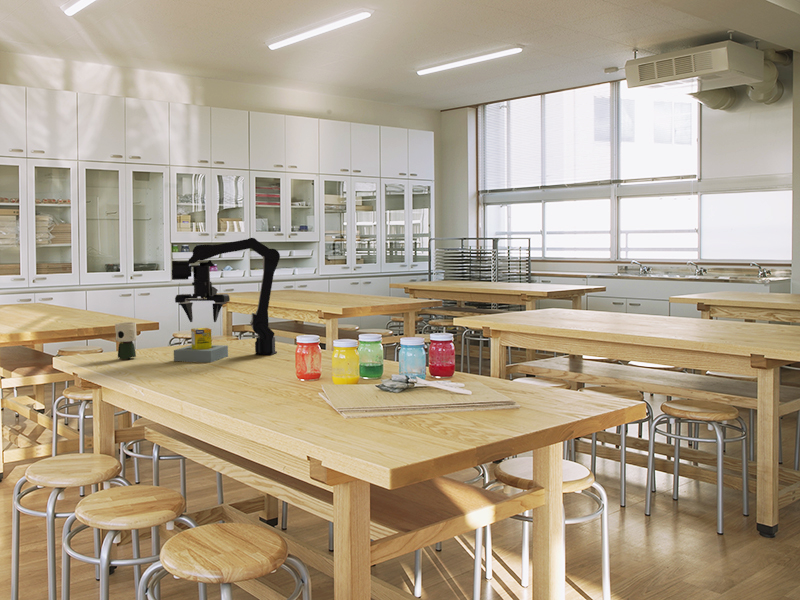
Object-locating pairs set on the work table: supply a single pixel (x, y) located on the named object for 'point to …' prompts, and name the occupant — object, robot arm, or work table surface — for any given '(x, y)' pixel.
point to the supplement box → (201, 338)
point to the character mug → (126, 339)
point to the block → (201, 354)
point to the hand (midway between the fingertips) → (203, 322)
